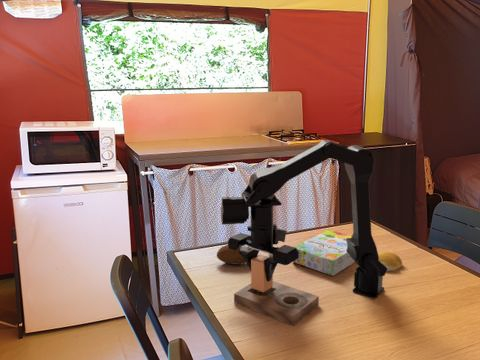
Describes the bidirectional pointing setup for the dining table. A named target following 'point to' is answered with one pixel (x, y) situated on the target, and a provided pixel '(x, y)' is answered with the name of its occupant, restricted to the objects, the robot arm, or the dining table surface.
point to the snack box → (325, 252)
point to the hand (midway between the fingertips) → (262, 278)
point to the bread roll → (390, 260)
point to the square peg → (259, 274)
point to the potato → (230, 255)
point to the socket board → (278, 302)
